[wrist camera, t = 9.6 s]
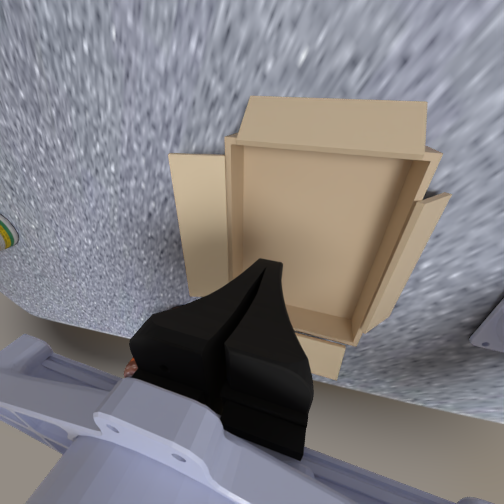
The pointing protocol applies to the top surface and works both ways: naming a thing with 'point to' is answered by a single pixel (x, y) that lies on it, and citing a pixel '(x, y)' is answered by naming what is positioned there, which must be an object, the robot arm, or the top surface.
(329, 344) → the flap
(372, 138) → the carton
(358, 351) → the top surface
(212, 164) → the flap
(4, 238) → the supplement bottle
